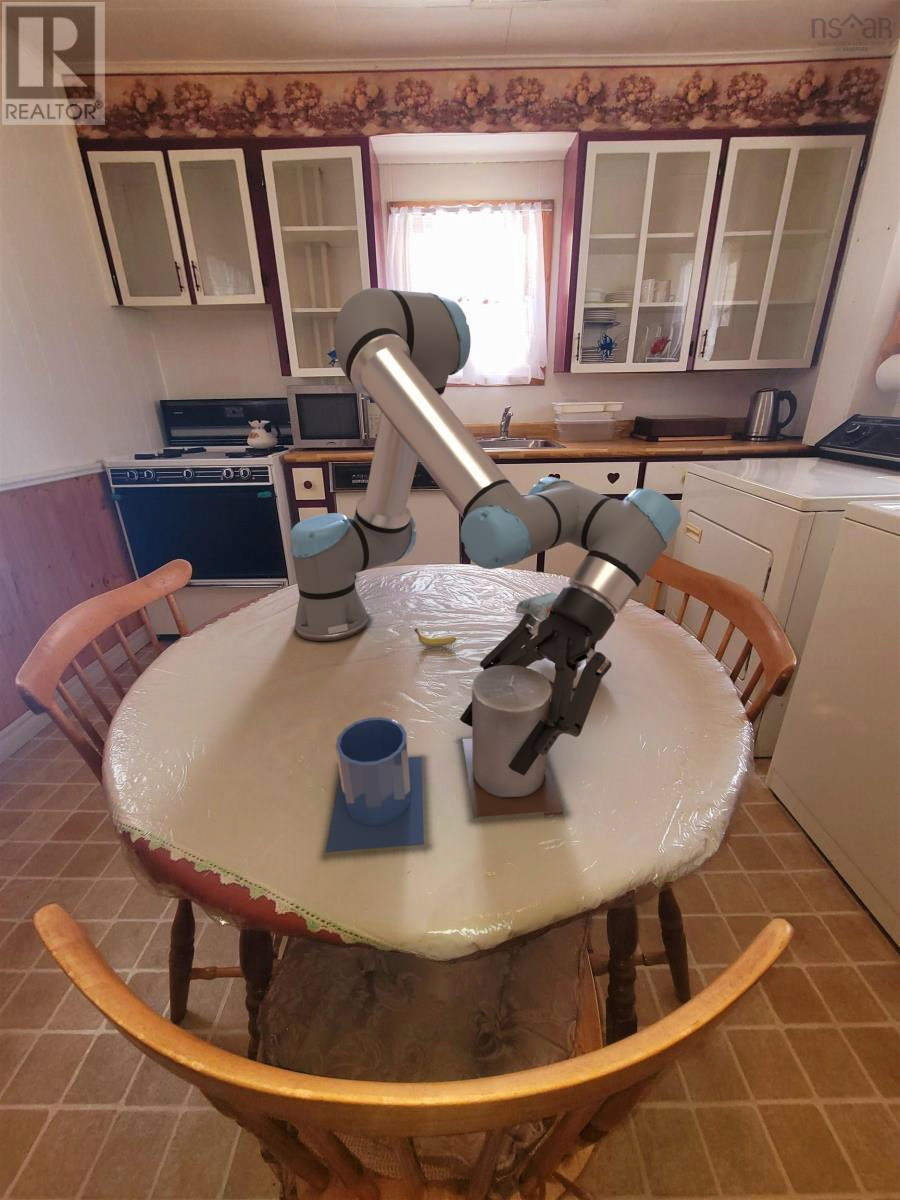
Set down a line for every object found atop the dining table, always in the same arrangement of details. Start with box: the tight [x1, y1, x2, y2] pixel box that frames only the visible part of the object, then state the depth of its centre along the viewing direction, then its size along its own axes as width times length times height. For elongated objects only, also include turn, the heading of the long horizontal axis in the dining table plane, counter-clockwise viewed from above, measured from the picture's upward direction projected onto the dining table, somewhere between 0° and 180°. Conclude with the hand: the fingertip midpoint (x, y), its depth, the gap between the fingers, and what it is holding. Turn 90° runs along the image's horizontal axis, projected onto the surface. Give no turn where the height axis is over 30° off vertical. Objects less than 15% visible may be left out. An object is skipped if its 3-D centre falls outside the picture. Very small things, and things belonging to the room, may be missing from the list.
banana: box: [414, 628, 457, 647], centre depth 95 cm, size 8×2×4 cm, turn 88°
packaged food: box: [514, 592, 559, 621], centre depth 105 cm, size 9×12×5 cm
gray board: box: [461, 737, 565, 819], centre depth 65 cm, size 14×11×1 cm
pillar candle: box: [471, 665, 552, 797], centre depth 61 cm, size 10×10×15 cm
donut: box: [540, 658, 586, 689], centre depth 85 cm, size 10×4×10 cm
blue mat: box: [325, 756, 425, 853], centre depth 61 cm, size 14×11×1 cm
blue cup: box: [335, 716, 411, 826], centre depth 59 cm, size 8×8×10 cm
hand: (489, 745), depth 60 cm, fingers closed on pillar candle, 10 cm apart
